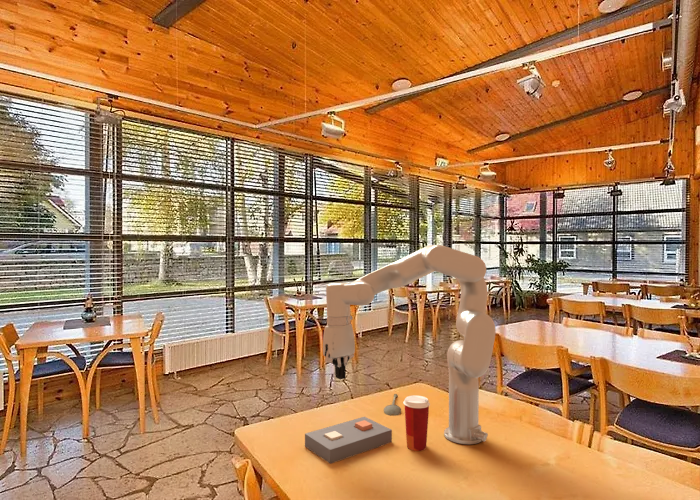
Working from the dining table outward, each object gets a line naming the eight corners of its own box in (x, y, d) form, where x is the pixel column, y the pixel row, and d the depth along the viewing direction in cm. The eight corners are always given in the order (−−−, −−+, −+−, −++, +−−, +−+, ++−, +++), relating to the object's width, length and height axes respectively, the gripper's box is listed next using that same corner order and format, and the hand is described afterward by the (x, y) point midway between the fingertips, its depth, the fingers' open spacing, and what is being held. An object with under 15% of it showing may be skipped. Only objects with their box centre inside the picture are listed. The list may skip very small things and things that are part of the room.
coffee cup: (432, 444, 140) (432, 397, 140) (425, 454, 132) (426, 405, 132) (407, 439, 143) (407, 393, 143) (399, 449, 136) (399, 401, 136)
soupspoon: (382, 418, 165) (400, 420, 163) (382, 409, 164) (400, 411, 163) (388, 396, 186) (403, 398, 185) (388, 389, 186) (404, 390, 185)
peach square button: (372, 436, 143) (372, 423, 143) (362, 440, 140) (362, 426, 140) (364, 432, 146) (364, 420, 146) (354, 435, 143) (355, 422, 144)
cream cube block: (342, 448, 135) (342, 435, 136) (331, 452, 133) (331, 438, 133) (334, 444, 139) (334, 430, 139) (324, 447, 136) (324, 433, 136)
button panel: (391, 442, 141) (391, 429, 141) (330, 463, 127) (330, 449, 127) (364, 428, 152) (364, 416, 152) (304, 446, 138) (304, 433, 138)
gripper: (349, 317, 149) (351, 371, 149) (312, 322, 140) (314, 380, 140) (364, 319, 143) (365, 375, 143) (326, 325, 134) (328, 385, 134)
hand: (340, 378), depth 141 cm, fingers closed
